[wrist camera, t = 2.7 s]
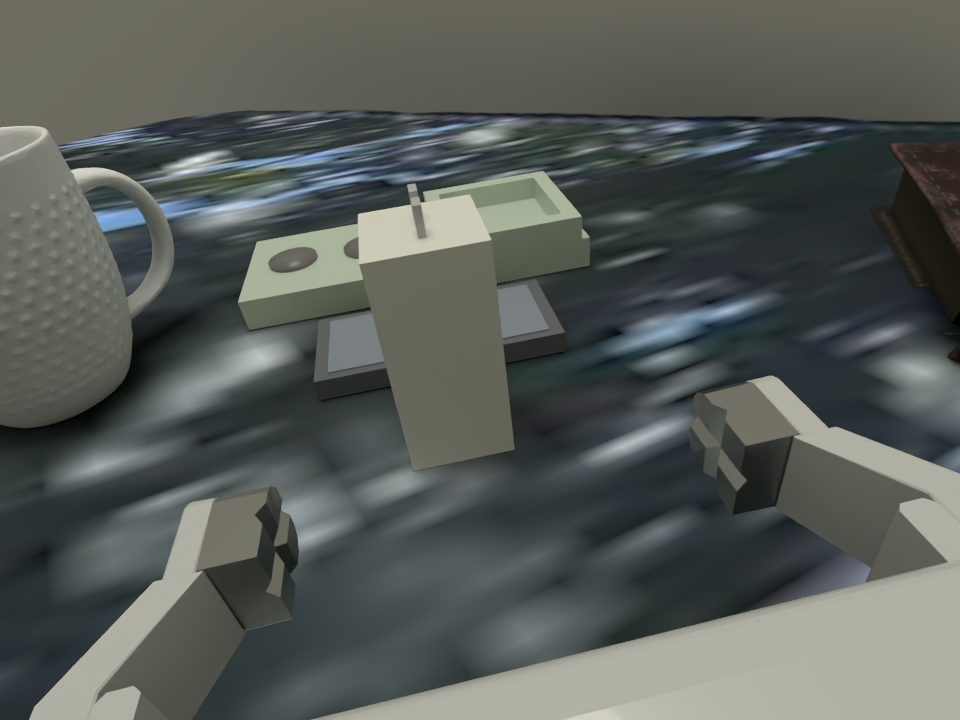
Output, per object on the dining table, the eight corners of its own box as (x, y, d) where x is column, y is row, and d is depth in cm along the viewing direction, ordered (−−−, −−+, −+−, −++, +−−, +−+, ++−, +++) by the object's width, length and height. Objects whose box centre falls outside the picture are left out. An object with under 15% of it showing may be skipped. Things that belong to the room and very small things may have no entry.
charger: (413, 471, 25) (350, 230, 19) (405, 405, 29) (350, 184, 22) (514, 449, 26) (487, 205, 19) (494, 387, 29) (466, 164, 23)
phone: (320, 400, 30) (313, 381, 29) (324, 337, 35) (318, 319, 34) (565, 351, 31) (565, 331, 30) (536, 296, 36) (535, 278, 35)
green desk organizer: (249, 330, 36) (228, 280, 34) (266, 266, 44) (249, 222, 42) (589, 265, 38) (589, 214, 36) (551, 214, 45) (549, 169, 43)
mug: (156, 293, 42) (58, 101, 34) (257, 325, 37) (169, 106, 29) (-81, 422, 32) (-291, 195, 25) (10, 491, 27) (-221, 229, 19)
